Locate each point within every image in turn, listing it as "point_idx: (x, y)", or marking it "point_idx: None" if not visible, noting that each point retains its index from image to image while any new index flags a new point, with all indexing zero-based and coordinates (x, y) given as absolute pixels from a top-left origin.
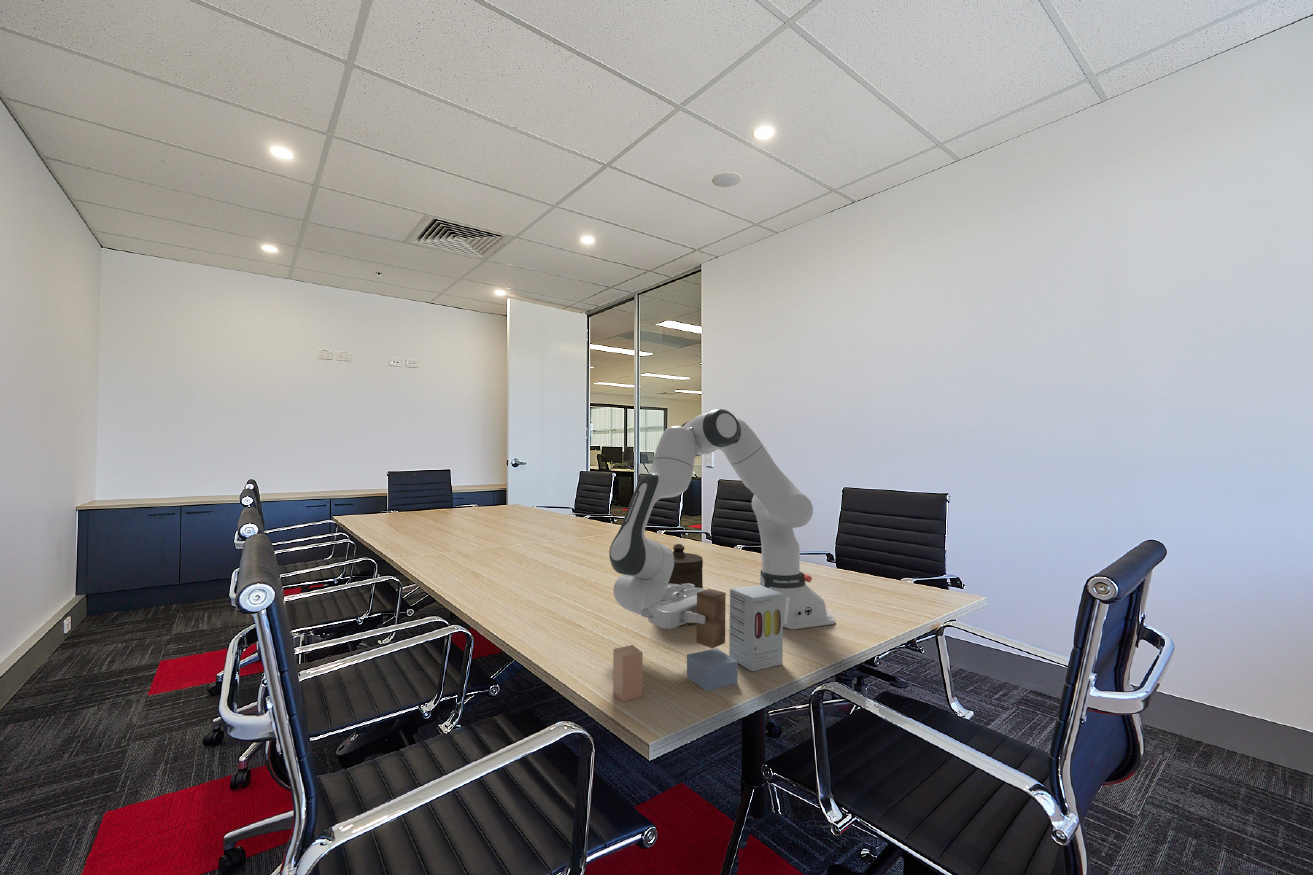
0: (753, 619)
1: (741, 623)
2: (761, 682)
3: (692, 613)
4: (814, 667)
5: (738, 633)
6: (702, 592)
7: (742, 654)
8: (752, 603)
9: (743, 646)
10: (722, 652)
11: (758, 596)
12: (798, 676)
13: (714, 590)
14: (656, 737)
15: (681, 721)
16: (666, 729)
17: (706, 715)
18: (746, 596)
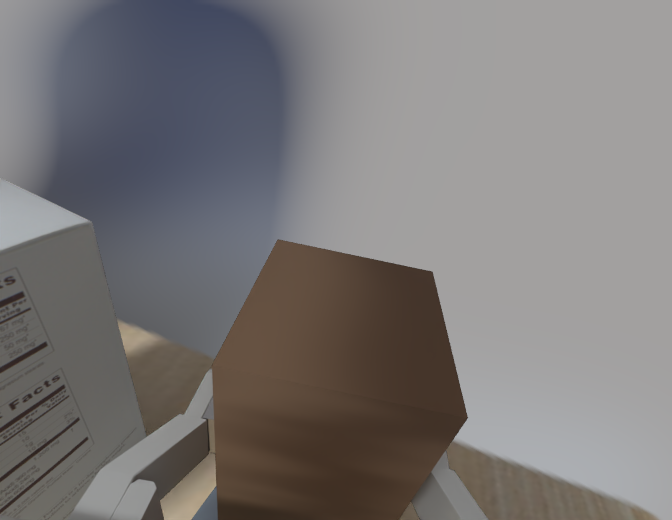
0: (114, 313)
1: (40, 409)
2: None
3: (480, 509)
4: None
5: (30, 468)
6: (407, 371)
7: (92, 480)
8: (98, 249)
9: (91, 454)
10: (198, 517)
11: (48, 206)
12: (148, 335)
13: (259, 305)
14: (641, 515)
15: (546, 499)
16: (602, 514)
17: (472, 455)
18: (24, 251)
